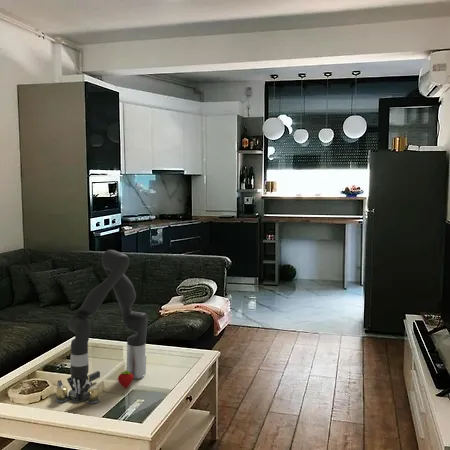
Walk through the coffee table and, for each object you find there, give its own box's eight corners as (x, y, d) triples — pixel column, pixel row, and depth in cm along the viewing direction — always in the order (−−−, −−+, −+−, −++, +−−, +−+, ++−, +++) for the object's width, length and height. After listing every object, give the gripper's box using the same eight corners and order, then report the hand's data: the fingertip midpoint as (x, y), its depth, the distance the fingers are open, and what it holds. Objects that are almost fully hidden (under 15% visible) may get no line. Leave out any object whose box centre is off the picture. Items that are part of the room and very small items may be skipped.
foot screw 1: (67, 399, 223) (68, 388, 222) (57, 400, 221) (57, 390, 220) (64, 387, 234) (64, 377, 233) (54, 389, 232) (54, 378, 232)
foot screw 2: (94, 395, 228) (94, 385, 227) (100, 399, 225) (100, 388, 224) (70, 403, 219) (70, 393, 218) (75, 407, 216) (75, 396, 215)
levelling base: (83, 385, 240) (83, 378, 240) (112, 394, 232) (112, 387, 232) (52, 400, 223) (52, 394, 223) (82, 411, 215) (82, 404, 215)
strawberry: (115, 387, 239) (116, 367, 238) (130, 384, 243) (130, 364, 242) (120, 392, 234) (121, 372, 233) (135, 389, 239) (135, 369, 237)
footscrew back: (84, 389, 233) (84, 379, 233) (76, 387, 235) (77, 376, 235) (102, 380, 244) (102, 370, 243) (95, 377, 246) (95, 368, 246)
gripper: (61, 362, 215) (62, 400, 217) (84, 368, 209) (85, 408, 211) (74, 356, 221) (74, 393, 223) (97, 362, 215) (97, 400, 217)
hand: (79, 400), depth 217 cm, fingers closed
